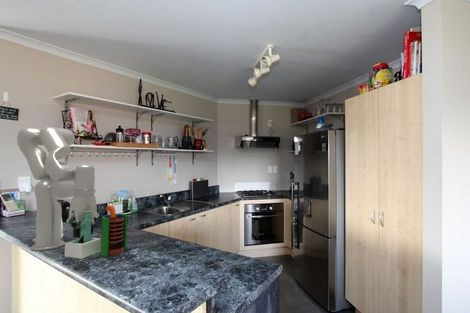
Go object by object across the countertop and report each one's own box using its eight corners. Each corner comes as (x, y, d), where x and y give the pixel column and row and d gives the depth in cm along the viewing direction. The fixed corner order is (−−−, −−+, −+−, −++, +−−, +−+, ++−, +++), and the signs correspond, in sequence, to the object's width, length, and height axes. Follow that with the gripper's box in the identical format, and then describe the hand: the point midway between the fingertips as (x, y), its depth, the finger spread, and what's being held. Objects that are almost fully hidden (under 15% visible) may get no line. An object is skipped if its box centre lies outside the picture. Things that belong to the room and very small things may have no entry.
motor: (113, 257, 100) (114, 208, 101) (95, 255, 102) (95, 207, 103) (129, 249, 110) (129, 204, 111) (111, 248, 112) (112, 204, 113)
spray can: (84, 247, 109) (85, 202, 110) (93, 249, 107) (94, 203, 107) (72, 251, 104) (73, 204, 105) (81, 253, 101) (82, 204, 102)
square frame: (64, 256, 102) (64, 243, 102) (84, 249, 111) (84, 237, 111) (81, 258, 99) (82, 244, 99) (100, 251, 108) (101, 238, 108)
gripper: (94, 191, 116) (93, 230, 115) (58, 195, 99) (57, 240, 98) (106, 191, 113) (106, 231, 112) (72, 195, 97) (71, 242, 96)
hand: (83, 235), depth 105 cm, fingers closed on spray can, 5 cm apart
